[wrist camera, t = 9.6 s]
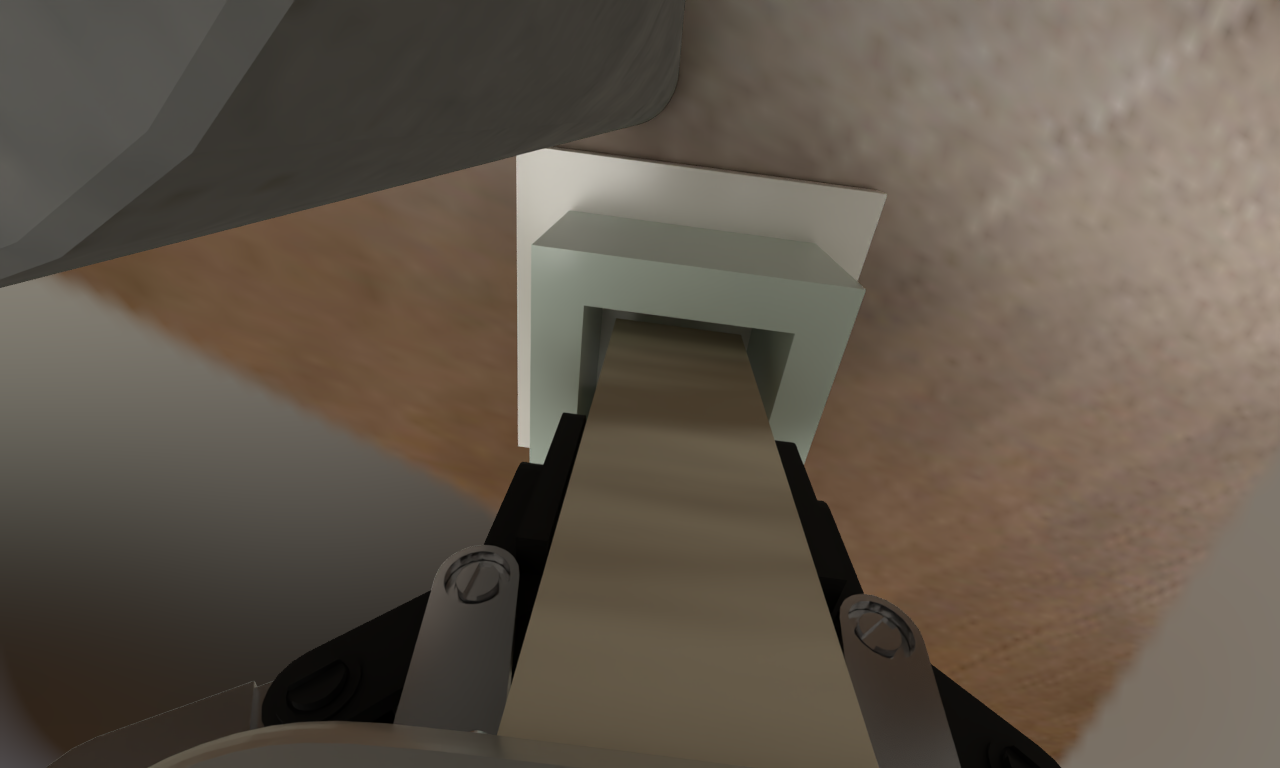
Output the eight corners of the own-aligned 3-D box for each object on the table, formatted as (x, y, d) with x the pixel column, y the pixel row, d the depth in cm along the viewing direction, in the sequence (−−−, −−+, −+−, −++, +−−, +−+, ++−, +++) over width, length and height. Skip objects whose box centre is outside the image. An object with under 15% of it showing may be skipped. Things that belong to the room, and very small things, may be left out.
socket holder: (524, 143, 16) (454, 156, 11) (876, 190, 17) (969, 224, 11) (524, 433, 22) (478, 530, 17) (784, 467, 22) (817, 575, 17)
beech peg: (616, 318, 15) (496, 740, 5) (741, 334, 16) (885, 788, 5) (605, 422, 17) (502, 887, 7) (716, 437, 17) (784, 923, 7)
